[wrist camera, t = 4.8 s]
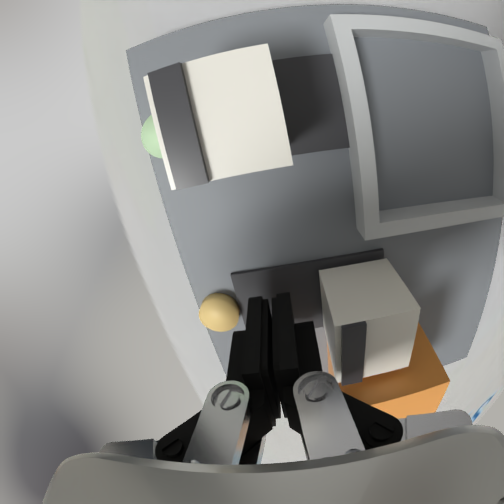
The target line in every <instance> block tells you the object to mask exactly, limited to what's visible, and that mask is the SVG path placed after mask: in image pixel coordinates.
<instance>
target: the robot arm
mask: <svg viewBox="0 0 504 504" xmlns="http://www.w3.org/2000/svg"><path fill="white" fill-rule="evenodd" d="M280 401H281V405H282V409H283V413H284V417H285V418H287V417H288V422H289V426H290V428H292V429H293V430H295V431H296V432H298V433H299V434H301V439H302V443H303V447H304V450H305V454H306V458H307V460H306V461H297V462H287V463H273V464H261V460H262V455H263V450H264V445H265V441H266V434H267V433H268V432H269V431H271V430H272V426H276V419H277V418H281V407H280ZM42 504H504V435H503V434H502V433H501V432H500V431H499V430H497V429H495V428H493V427H490V426H483V425H472V420H471V418H470V416H469V415H468V414H467V413H466V412H465V411H462V410H449V411H442V412H435V413H427V414H418V415H408V416H406V418H400V419H397V418H396V417H394V416H392V415H390V414H388V413H386V412H384V411H381V410H379V409H377V408H375V407H373V406H371V405H369V404H367V403H364V402H362V401H360V400H358V399H356V398H354V397H352V396H350V395H348V394H346V393H344V392H342V391H341V389H340V387H339V384H338V382H337V380H336V379H335V377H334V376H332V375H331V374H329V373H327V372H324V371H323V370H322V365H321V359H320V354H319V348H318V343H317V338H316V332H315V327H314V322H313V321H307V322H301V323H295V322H294V316H293V309H292V303H291V296H290V292H284V293H278V294H276V297H275V298H272V315H271V310H270V306H269V301H268V299H263V297H262V296H257V297H250V298H248V307H247V318H246V329H245V330H242V331H234V332H233V335H232V342H231V349H230V356H229V363H228V371H227V378H226V381H224V382H221V383H219V384H217V385H215V386H214V387H213V388H212V389H211V390H210V391H209V393H208V395H207V398H206V400H205V403H204V406H203V408H202V410H201V411H200V412H198V413H197V414H196V415H194V416H193V417H191V418H190V419H188V420H187V421H186V422H184V423H183V424H181V425H180V426H178V427H177V428H175V429H174V430H172V431H171V432H169V433H168V434H166V435H165V436H163V438H161V439H160V440H158V441H155V440H154V439H146V440H135V441H120V442H110V443H107V444H105V445H104V446H103V447H102V448H101V449H100V451H99V453H86V454H79V455H76V456H72V457H70V458H67V459H66V460H64V461H63V462H62V463H61V464H60V465H59V467H58V468H57V470H56V472H55V473H54V476H53V477H52V479H51V482H50V484H49V486H48V489H47V491H46V494H45V497H44V500H43V502H42Z"/></svg>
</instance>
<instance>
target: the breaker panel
mask: <svg viewBox="0 0 504 504" xmlns="http://www.w3.org/2000/svg"><path fill="white" fill-rule="evenodd" d="M267 43H268V47H269V51H270V55H271V59H272V64H273V68H274V72H275V77H276V81H277V85H278V90H279V95H280V99H281V104H282V109H283V114H284V119H285V124H286V129H287V134H288V139H289V144H290V150H291V155H292V161H293V165H292V166H286V167H280V168H274V169H269V170H263V171H258V172H252V173H247V174H242V175H237V176H232V177H227V178H222V179H218V180H213V181H210V182H209V183H206V184H202V185H198V186H193V187H189V188H185V189H181V190H176V189H174V190H171V187H170V183H169V180H168V176H167V173H166V169H165V165H164V161H163V158H162V154H161V150H160V146H159V142H158V138H157V134H156V130H155V126H154V122H153V118H152V114H151V110H150V105H149V101H148V97H147V92H146V88H145V83H144V78H143V77H144V76H147V75H148V74H147V73H149V72H152V71H155V70H157V69H160V68H163V67H166V66H169V65H172V64H175V63H178V62H180V63H185V62H188V61H192V60H195V59H199V58H202V57H206V56H210V55H214V54H218V53H222V52H226V51H231V50H235V49H240V48H245V47H250V46H255V45H261V44H267ZM126 53H127V59H128V64H129V69H130V74H131V79H132V84H133V88H134V93H135V98H136V102H137V106H138V111H139V115H140V119H141V123H142V131H141V139H142V143H143V146H144V148H145V149H146V150H147V152H148V153H149V155H150V158H151V162H152V166H153V169H154V173H155V176H156V180H157V183H158V187H159V190H160V194H161V197H162V200H163V204H164V207H165V210H166V213H167V217H168V220H169V223H170V226H171V229H172V232H173V236H174V239H175V242H176V245H177V248H178V251H179V254H180V257H181V259H182V262H183V265H184V268H185V271H186V274H187V277H188V279H189V282H190V285H191V288H192V291H193V293H194V296H195V299H196V301H197V304H198V307H199V309H200V310H199V318H200V321H201V322H202V323H203V325H204V326H206V328H207V330H208V333H209V335H210V338H211V340H212V343H213V345H214V348H215V350H216V352H217V355H218V357H219V360H220V362H221V364H222V367H223V369H224V372H225V374H226V376H227V371H228V363H229V356H230V349H231V342H232V335H233V332H234V331H242V330H245V329H246V318H247V307H248V298H250V297H257V296H262V297H263V299H268V301H269V306H270V310H271V315H272V298H275V297H276V294H278V293H284V292H290V296H291V303H292V309H293V316H294V322H295V323H301V322H307V321H313V322H314V327H315V332H316V338H317V343H318V348H319V354H320V359H321V365H322V370H323V371H324V372H327V373H328V352H327V338H326V334H325V329H324V324H323V311H322V299H321V288H320V278H319V270H323V269H329V268H335V267H341V266H347V265H352V264H358V263H363V262H369V261H374V260H380V259H385V258H387V259H388V261H389V262H390V264H391V265H392V266H393V268H394V269H395V271H396V272H397V273H398V275H399V276H400V278H401V279H402V281H403V282H404V283H405V285H406V286H407V288H408V289H409V291H410V292H411V294H412V295H413V297H414V298H415V300H416V301H417V303H418V305H419V306H420V308H421V309H420V315H419V321H418V322H419V324H420V326H421V327H422V329H423V331H424V333H425V334H426V336H427V338H428V340H429V342H430V343H431V345H432V347H433V349H434V351H435V353H436V354H437V356H438V358H439V360H440V362H441V364H442V366H444V365H447V364H450V363H452V362H455V361H458V360H461V359H463V358H466V357H467V355H468V352H469V350H470V347H471V345H472V342H473V339H474V336H475V334H476V331H477V328H478V325H479V322H480V319H481V316H482V312H483V309H484V306H485V302H486V299H487V295H488V291H489V287H490V283H491V279H492V275H493V271H494V266H495V261H496V256H497V251H498V245H499V239H500V232H501V225H502V217H504V47H503V43H502V40H501V39H498V38H495V37H492V36H489V33H488V30H487V27H485V26H482V25H479V24H476V23H472V22H469V21H465V20H462V19H458V18H454V17H449V16H445V15H440V14H436V13H430V12H425V11H419V10H413V9H405V8H397V7H388V6H375V5H353V4H330V5H307V6H295V7H285V8H276V9H269V10H262V11H256V12H250V13H245V14H239V15H234V16H230V17H225V18H221V19H217V20H213V21H209V22H205V23H201V24H198V25H194V26H191V27H187V28H184V29H181V30H178V31H175V32H172V33H169V34H166V35H163V36H160V37H158V38H155V39H152V40H150V41H147V42H144V43H142V44H140V45H137V46H135V47H132V48H130V49H128V50H126Z"/></svg>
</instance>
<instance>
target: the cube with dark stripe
mask: <svg viewBox="0 0 504 504" xmlns="http://www.w3.org/2000/svg"><path fill="white" fill-rule="evenodd" d="M319 278H320V288H321V299H322V311H323V324H324V329H325V334H326V338H327V343H328V347H329V352H330V357H331V362H332V366H333V371H334V376H335V379H336V380H337V382H338V383H339V382H341V385H342V386H345V385H350V384H355V383H360V382H362V379H363V378H364V377H369V376H373V375H377V374H381V373H386V372H390V371H393V370H397V369H401V368H405V367H408V366H409V362H410V358H411V354H412V350H413V345H414V341H415V336H416V331H417V326H418V321H419V315H420V309H421V308H420V306H419V305H418V303H417V301H416V300H415V298H414V297H413V295H412V294H411V292H410V291H409V289H408V288H407V286H406V285H405V283H404V282H403V281H402V279H401V278H400V276H399V275H398V273H397V272H396V271H395V269H394V268H393V266H392V265H391V264H390V262H389V261H388V259H387V258H385V259H380V260H374V261H369V262H363V263H358V264H352V265H347V266H341V267H335V268H329V269H323V270H319Z"/></svg>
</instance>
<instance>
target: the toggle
mask: <svg viewBox="0 0 504 504" xmlns="http://www.w3.org/2000/svg"><path fill="white" fill-rule="evenodd" d="M147 74H148V75H147V76H144V77H143V78H144V83H145V88H146V92H147V97H148V101H149V105H150V110H151V114H152V118H153V122H154V126H155V130H156V134H157V138H158V142H159V146H160V150H161V154H162V158H163V161H164V165H165V169H166V173H167V176H168V180H169V183H170V187H171V190H174V189H176V190H181V189H185V188H189V187H193V186H198V185H202V184H206V183H209V182H210V181H213V180H218V179H222V178H227V177H232V176H237V175H242V174H247V173H252V172H258V171H263V170H269V169H274V168H280V167H286V166H292V165H293V161H292V155H291V150H290V144H289V139H288V134H287V129H286V124H285V119H284V114H283V109H282V104H281V99H280V95H279V90H278V85H277V81H276V77H275V72H274V68H273V64H272V59H271V55H270V51H269V47H268V43H267V44H261V45H255V46H250V47H245V48H240V49H235V50H231V51H226V52H222V53H218V54H214V55H210V56H206V57H202V58H199V59H195V60H192V61H188V62H185V63H180V62H178V63H175V64H172V65H169V66H166V67H163V68H160V69H157V70H155V71H152V72H149V73H147Z"/></svg>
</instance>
